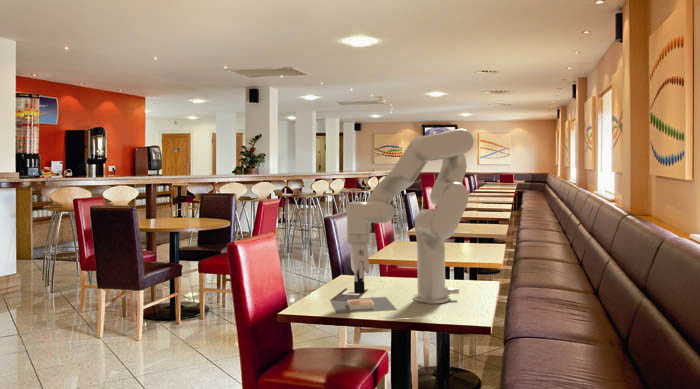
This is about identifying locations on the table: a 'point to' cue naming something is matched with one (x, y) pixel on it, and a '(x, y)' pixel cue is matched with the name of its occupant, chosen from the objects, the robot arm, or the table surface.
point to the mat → (379, 305)
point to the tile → (360, 304)
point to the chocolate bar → (347, 295)
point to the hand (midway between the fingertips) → (359, 292)
